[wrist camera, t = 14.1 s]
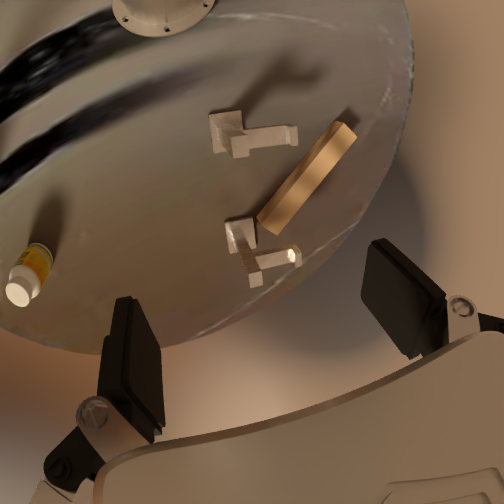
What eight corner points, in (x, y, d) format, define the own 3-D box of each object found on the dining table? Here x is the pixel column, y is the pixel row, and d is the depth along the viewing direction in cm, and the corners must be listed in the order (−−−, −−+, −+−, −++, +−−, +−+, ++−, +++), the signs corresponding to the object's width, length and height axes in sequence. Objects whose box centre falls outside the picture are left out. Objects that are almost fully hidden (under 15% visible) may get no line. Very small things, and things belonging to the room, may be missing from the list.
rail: (333, 120, 36) (343, 122, 34) (346, 133, 38) (357, 137, 35) (255, 216, 41) (261, 225, 39) (270, 226, 43) (277, 235, 40)
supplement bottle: (44, 276, 37) (24, 317, 29) (21, 255, 34) (-4, 293, 26) (59, 257, 36) (39, 297, 28) (35, 234, 33) (9, 271, 25)
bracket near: (208, 114, 32) (220, 122, 23) (268, 107, 33) (303, 113, 24) (213, 152, 35) (227, 175, 26) (271, 143, 36) (305, 163, 27)
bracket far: (224, 221, 40) (240, 264, 31) (276, 211, 41) (307, 249, 32) (229, 251, 43) (245, 298, 34) (278, 240, 44) (306, 283, 35)
